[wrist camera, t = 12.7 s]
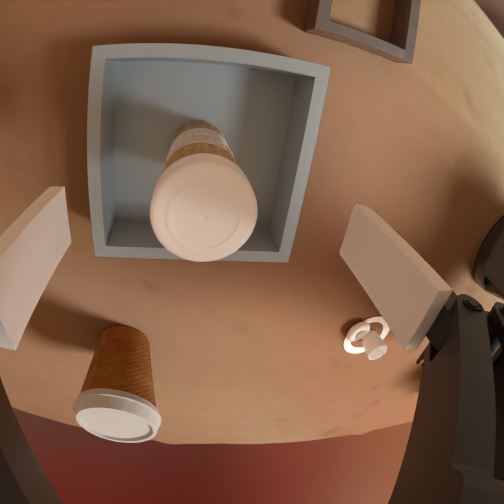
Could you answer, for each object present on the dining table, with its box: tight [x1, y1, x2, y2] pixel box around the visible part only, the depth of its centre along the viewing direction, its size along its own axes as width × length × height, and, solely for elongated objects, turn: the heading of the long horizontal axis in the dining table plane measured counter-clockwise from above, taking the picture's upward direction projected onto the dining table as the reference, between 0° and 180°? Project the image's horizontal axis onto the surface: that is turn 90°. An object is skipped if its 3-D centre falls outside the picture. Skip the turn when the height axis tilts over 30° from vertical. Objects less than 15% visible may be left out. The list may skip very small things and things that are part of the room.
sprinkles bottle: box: [150, 121, 258, 262], centre depth 18 cm, size 5×5×13 cm
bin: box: [87, 43, 331, 262], centre depth 22 cm, size 16×16×5 cm
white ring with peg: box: [343, 316, 390, 360], centre depth 41 cm, size 9×8×4 cm
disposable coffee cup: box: [73, 325, 161, 443], centre depth 30 cm, size 10×10×12 cm
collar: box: [304, 0, 421, 64], centre depth 18 cm, size 10×10×2 cm
